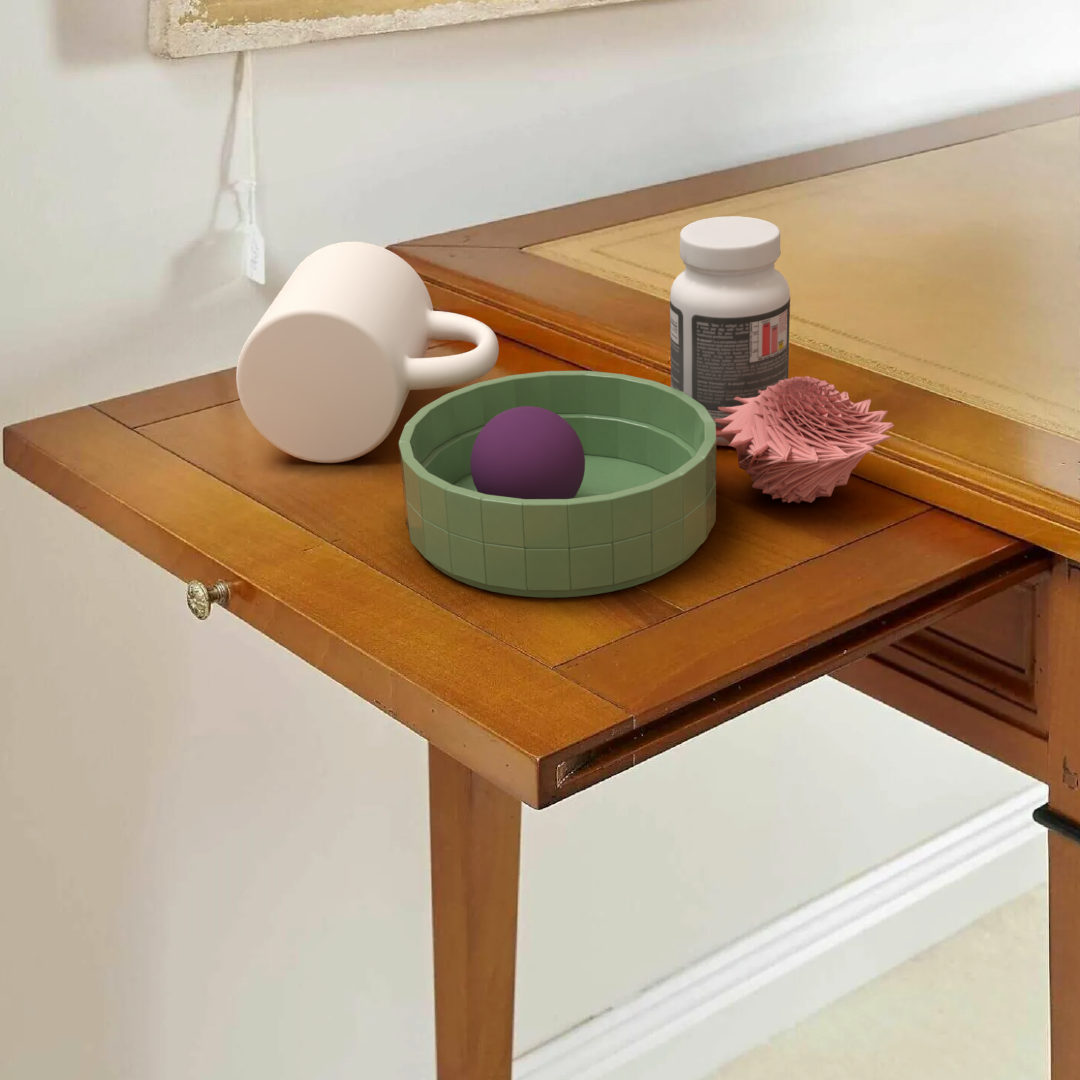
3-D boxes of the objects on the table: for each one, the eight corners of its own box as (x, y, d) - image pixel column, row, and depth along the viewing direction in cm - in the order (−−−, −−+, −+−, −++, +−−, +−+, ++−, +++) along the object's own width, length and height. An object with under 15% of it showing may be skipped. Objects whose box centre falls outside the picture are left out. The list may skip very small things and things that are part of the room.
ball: (596, 459, 74) (536, 371, 72) (616, 494, 69) (553, 401, 68) (504, 520, 74) (443, 434, 73) (518, 558, 70) (453, 468, 68)
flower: (789, 441, 79) (793, 333, 76) (925, 493, 73) (934, 378, 71) (674, 495, 74) (673, 382, 72) (809, 554, 69) (814, 435, 66)
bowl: (672, 443, 79) (671, 356, 77) (753, 578, 67) (755, 481, 65) (393, 476, 77) (385, 388, 75) (427, 621, 66) (418, 522, 63)
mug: (246, 464, 79) (224, 309, 75) (294, 383, 88) (276, 240, 84) (491, 465, 78) (480, 307, 74) (514, 383, 87) (506, 238, 83)
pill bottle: (810, 422, 81) (818, 227, 76) (736, 460, 77) (739, 259, 72) (721, 392, 84) (723, 205, 80) (647, 428, 81) (644, 234, 76)
